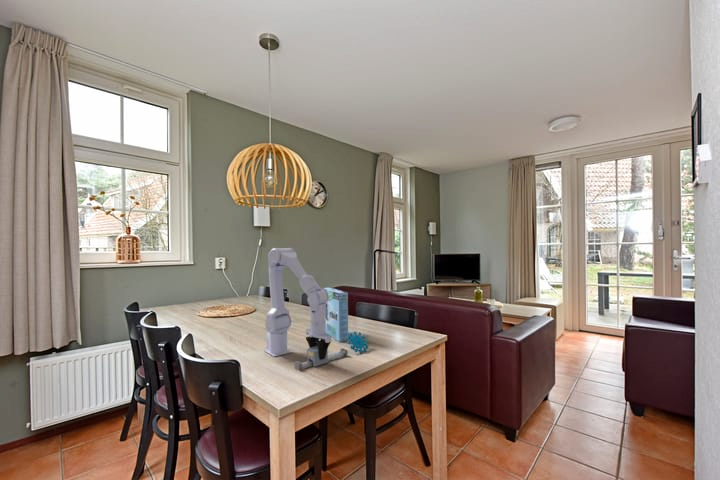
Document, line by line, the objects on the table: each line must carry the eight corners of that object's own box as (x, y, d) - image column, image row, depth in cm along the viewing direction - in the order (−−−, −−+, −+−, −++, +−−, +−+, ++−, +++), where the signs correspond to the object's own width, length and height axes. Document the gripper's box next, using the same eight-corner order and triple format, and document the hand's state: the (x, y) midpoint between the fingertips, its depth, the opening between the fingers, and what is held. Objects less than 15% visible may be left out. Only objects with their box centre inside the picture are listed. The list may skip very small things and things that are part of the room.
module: (307, 362, 121) (306, 348, 121) (320, 358, 125) (320, 344, 125) (314, 366, 117) (313, 351, 117) (327, 362, 121) (327, 348, 121)
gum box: (348, 340, 149) (348, 292, 149) (338, 342, 147) (338, 293, 147) (332, 330, 166) (332, 287, 167) (323, 332, 164) (323, 287, 164)
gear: (352, 352, 129) (345, 330, 135) (346, 359, 132) (339, 338, 139) (374, 351, 135) (366, 330, 141) (367, 358, 138) (360, 337, 145)
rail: (294, 368, 117) (294, 361, 117) (342, 354, 131) (342, 348, 131) (299, 370, 114) (299, 364, 114) (347, 356, 129) (347, 350, 129)
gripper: (299, 319, 124) (299, 354, 124) (319, 327, 113) (319, 365, 113) (314, 316, 129) (314, 350, 129) (335, 323, 118) (335, 360, 118)
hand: (318, 356), depth 121 cm, fingers closed on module, 5 cm apart
